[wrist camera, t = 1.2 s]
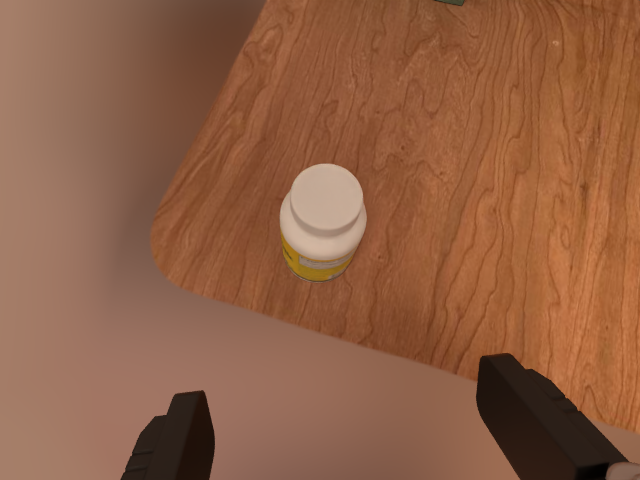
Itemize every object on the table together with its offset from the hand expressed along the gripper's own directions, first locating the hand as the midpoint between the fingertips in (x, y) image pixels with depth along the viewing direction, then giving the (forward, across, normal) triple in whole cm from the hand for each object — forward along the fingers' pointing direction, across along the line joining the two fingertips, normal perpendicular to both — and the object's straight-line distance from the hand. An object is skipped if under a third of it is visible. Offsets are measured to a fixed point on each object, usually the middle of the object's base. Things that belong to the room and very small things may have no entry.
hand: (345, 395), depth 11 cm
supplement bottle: (+19, 0, +3) cm, 19 cm away
